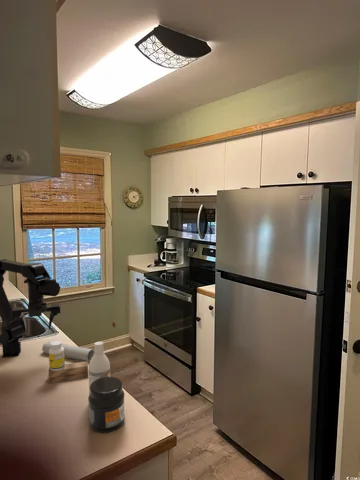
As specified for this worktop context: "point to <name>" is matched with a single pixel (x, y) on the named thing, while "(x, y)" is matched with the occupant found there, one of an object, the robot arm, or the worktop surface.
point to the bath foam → (98, 364)
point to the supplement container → (106, 404)
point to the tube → (72, 352)
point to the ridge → (69, 372)
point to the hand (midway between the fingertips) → (37, 330)
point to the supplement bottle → (56, 356)
